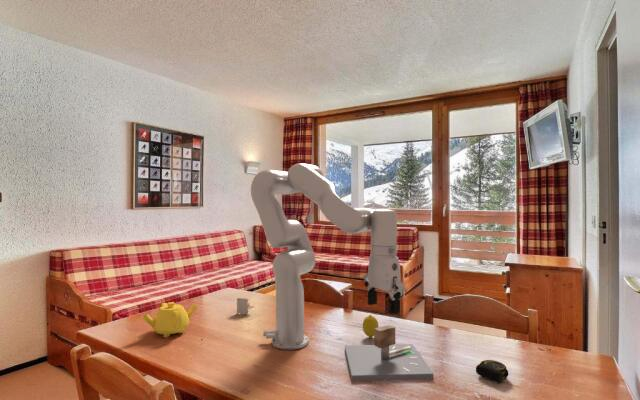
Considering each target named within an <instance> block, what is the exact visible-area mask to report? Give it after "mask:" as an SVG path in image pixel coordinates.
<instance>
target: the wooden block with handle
mask: <svg viewBox="0 0 640 400" xmlns="http://www.w3.org/2000/svg"><path fill="white" fill-rule="evenodd" d="M373 341H374V343H373V345H374V346H376V347H378V348H381V358H383V359H389V356H391V355H394V354H398V353H401V352H405V351H408V350H411V347H410V346H407V347H403V348H400V349H396V350H393V351H389V346H390V345H394V344H396V326H393V325H391V324H388V325H383V326H379V328H374V336H373Z"/></svg>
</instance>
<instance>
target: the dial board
mask: <svg viewBox="0 0 640 400" xmlns="http://www.w3.org/2000/svg"><path fill="white" fill-rule="evenodd" d="M407 346H410V347H411V350H408V351H405V352H401V353H398V354H394V355H391V356H389V359H383V358H381V348H378V347H376V346H374V344H364V345H363V344H357V345H356V344H355V345H344V352H345V357H346V361H347V365H348V370H349V373H350V374H349V375H350V378H351V382H360V381H361V382H363V381H364V382H368V381H369V382H371V381H372V382H373V381H375V382H376V381H409V380H410V381H411V380H412V381H414V380H419V381H420V380H434V377H435V376H434V372H433V371H432V370H431V368H430V366H429V365H428V364H427V362H426V361H425V360H424V358H423V357H422V356H421V354H420V353H419V351H418V349H416V347H415V345H414V344H413V343H407V344H405V343H404V344H403V343H401V344H397V343H395V344H394V345H390V346H389V351H393V350H396V349H400V348H403V347H407Z"/></svg>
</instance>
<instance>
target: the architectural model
mask: <svg viewBox="0 0 640 400" xmlns="http://www.w3.org/2000/svg"><path fill="white" fill-rule="evenodd" d="M248 302H249V299H248V298H246V297H243V298H242V297H236V314H237V313H240V314H239V315H241V314H246V315H245V316H247V315H249V313H248V312H249V310H251V309H253V308H255V305H251V304H249V303H248Z"/></svg>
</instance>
